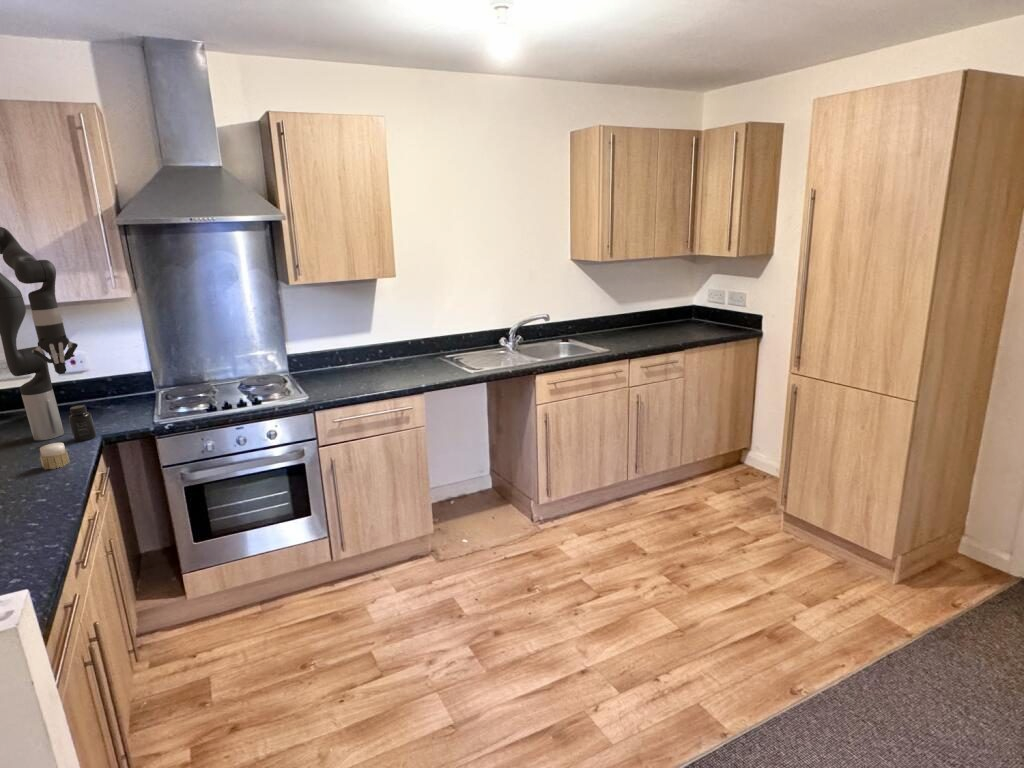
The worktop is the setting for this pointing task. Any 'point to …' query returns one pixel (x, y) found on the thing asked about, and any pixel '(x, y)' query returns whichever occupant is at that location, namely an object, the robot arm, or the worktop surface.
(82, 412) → the supplement bottle
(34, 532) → the worktop surface
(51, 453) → the cap
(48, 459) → the wooden slatted bowl
